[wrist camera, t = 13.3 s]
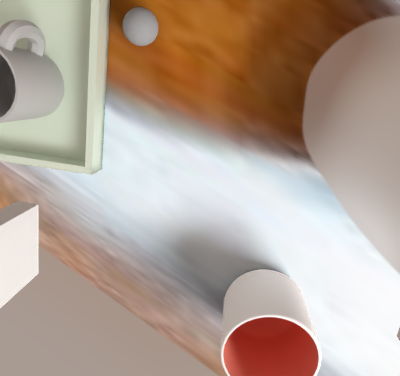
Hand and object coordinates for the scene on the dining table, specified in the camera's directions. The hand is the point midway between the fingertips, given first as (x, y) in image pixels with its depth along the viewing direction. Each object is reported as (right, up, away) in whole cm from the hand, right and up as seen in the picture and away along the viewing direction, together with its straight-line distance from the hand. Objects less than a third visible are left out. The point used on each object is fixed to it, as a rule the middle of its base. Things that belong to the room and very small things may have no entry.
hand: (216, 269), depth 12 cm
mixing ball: (-7, +19, +23) cm, 31 cm away
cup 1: (-19, +16, +27) cm, 37 cm away
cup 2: (+8, -11, +33) cm, 35 cm away
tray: (-19, +16, +28) cm, 37 cm away
